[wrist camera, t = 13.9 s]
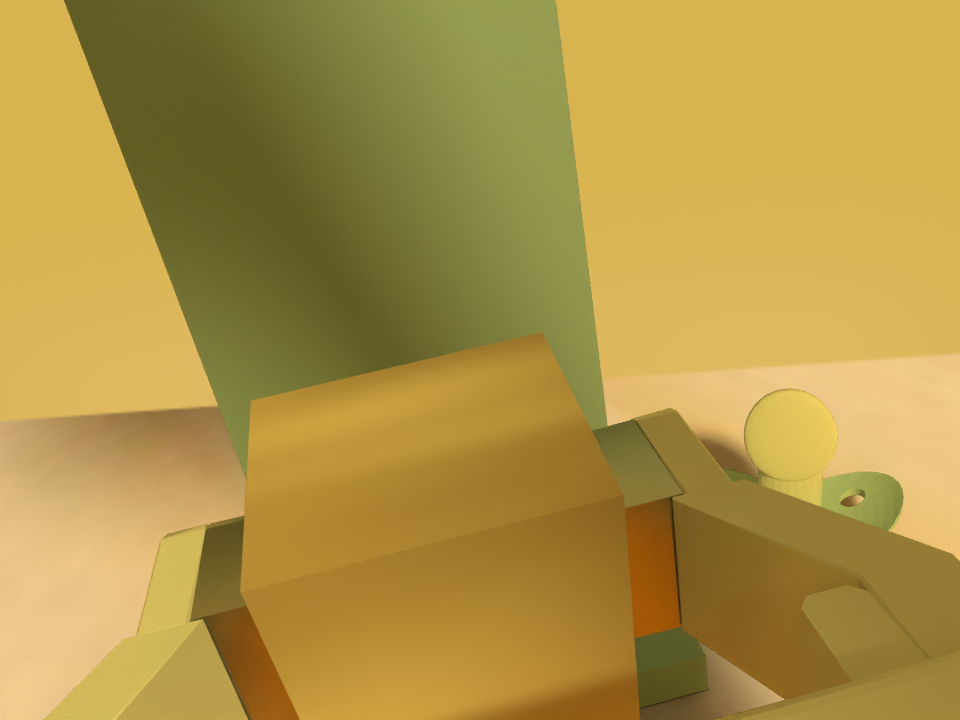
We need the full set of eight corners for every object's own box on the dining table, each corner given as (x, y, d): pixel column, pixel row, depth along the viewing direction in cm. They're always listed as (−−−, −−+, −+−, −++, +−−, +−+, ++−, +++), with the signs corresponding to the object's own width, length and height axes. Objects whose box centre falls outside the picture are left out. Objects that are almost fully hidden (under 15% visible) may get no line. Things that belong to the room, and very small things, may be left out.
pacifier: (914, 632, 27) (891, 506, 32) (931, 480, 24) (903, 365, 29) (679, 612, 29) (691, 497, 34) (666, 471, 26) (681, 367, 31)
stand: (265, 511, 38) (16, -152, 26) (605, 426, 39) (522, -246, 27) (241, 818, 25) (-293, -238, 13) (753, 676, 26) (724, -415, 14)
